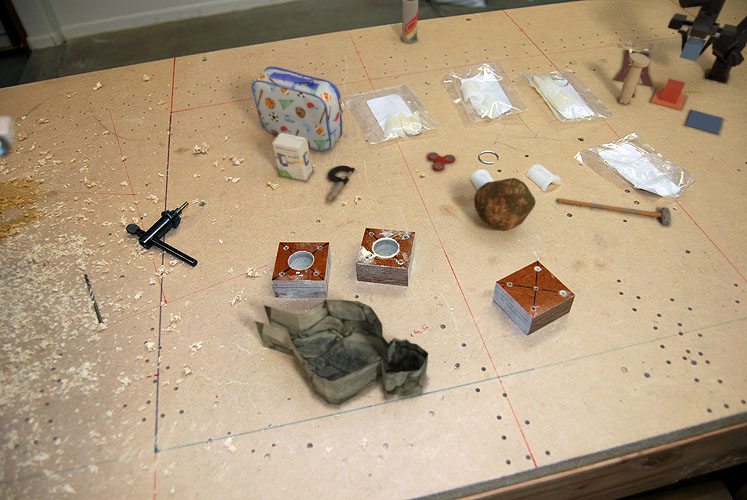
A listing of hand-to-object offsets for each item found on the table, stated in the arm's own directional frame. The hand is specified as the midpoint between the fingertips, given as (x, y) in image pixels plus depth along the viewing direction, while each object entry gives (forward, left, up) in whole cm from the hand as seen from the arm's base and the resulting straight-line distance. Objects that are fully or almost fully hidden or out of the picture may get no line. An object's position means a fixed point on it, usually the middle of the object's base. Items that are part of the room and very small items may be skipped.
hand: (690, 53), depth 169 cm
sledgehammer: (+73, -2, -10) cm, 74 cm away
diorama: (0, -14, -10) cm, 18 cm away
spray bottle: (+18, -94, -10) cm, 96 cm away
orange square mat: (+13, 0, -10) cm, 16 cm away
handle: (+21, -12, -10) cm, 27 cm away
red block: (+13, 0, -10) cm, 16 cm away
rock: (+93, -25, -10) cm, 97 cm away
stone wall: (+147, -37, -10) cm, 152 cm away
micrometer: (+102, -71, -10) cm, 124 cm away
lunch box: (+89, -91, -10) cm, 128 cm away
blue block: (0, 0, -1) cm, 1 cm away
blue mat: (+21, +12, -10) cm, 26 cm away
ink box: (+104, -83, -10) cm, 133 cm away
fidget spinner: (+78, -49, -10) cm, 93 cm away
